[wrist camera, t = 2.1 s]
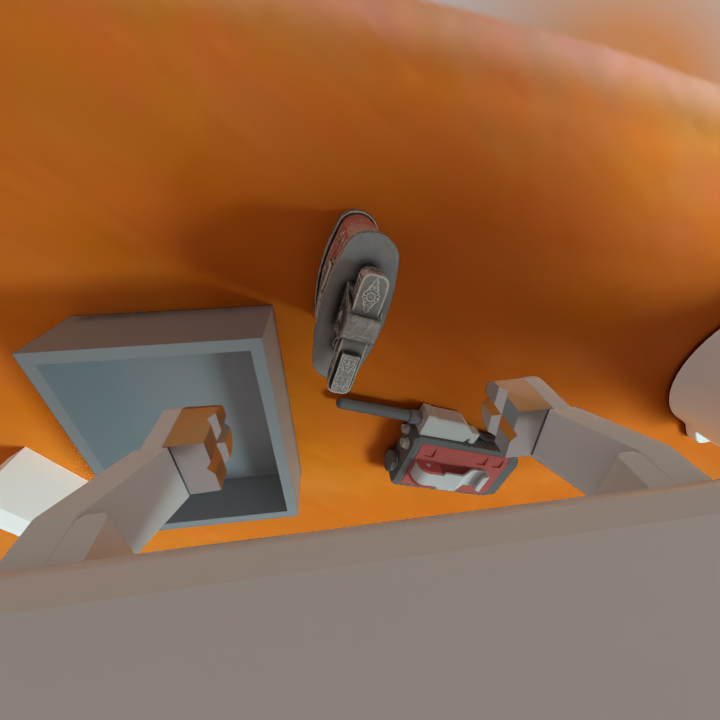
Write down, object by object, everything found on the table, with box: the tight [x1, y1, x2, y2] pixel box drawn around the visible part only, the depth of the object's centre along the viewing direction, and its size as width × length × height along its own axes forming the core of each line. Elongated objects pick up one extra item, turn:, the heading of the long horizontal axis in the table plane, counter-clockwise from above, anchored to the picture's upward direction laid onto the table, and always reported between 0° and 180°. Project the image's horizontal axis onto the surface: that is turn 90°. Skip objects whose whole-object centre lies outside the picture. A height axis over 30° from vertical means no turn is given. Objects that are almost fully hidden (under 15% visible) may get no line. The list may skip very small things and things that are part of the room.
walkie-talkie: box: [336, 398, 518, 495], centre depth 31 cm, size 9×4×20 cm
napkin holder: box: [0, 447, 89, 536], centre depth 29 cm, size 15×11×6 cm
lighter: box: [312, 209, 399, 394], centre depth 18 cm, size 8×3×10 cm, turn 162°
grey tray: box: [12, 305, 301, 530], centre depth 25 cm, size 14×18×5 cm
